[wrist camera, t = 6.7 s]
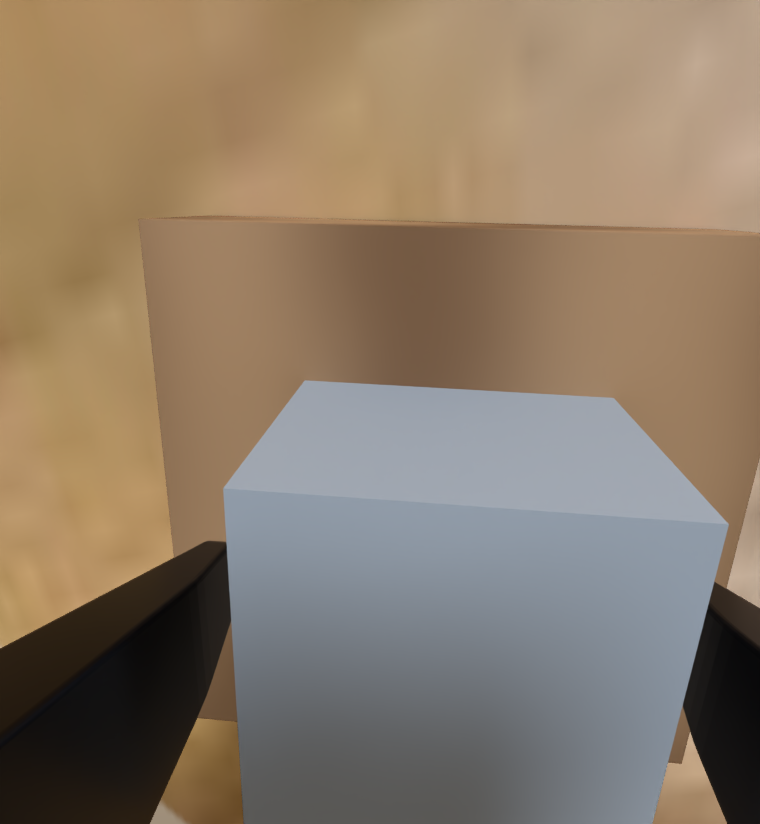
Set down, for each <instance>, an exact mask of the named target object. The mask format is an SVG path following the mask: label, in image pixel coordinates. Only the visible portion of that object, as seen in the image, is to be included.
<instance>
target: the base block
mask: <svg viewBox="0 0 760 824" xmlns="http://www.w3.org/2000/svg"><path fill="white" fill-rule="evenodd" d="M139 229H140V238H141V248H142V257H143V267H144V276H145V286H146V295H147V305H148V314H149V324H150V334H151V343H152V353H153V362H154V372H155V381H156V391H157V400H158V410H159V419H160V429H161V438H162V448H163V457H164V467H165V476H166V486H167V495H168V505H169V515H170V524H171V534H172V543H173V553H174V558H175V557H176V556H178V555H180V554H182V553H184V552H186V551H188V550H190V549H192V548H194V547H196V546H197V545H199V544H201V543H203V542H205V541H224V542H226V527H225V510H224V494H223V488H224V487H225V485H226V484H227V483H228V481H229V480H230V479H231V477H232V476H233V475H234V473H235V472H236V471H237V469H238V468H239V467H240V465H241V464H242V463H243V461H244V460H245V459H246V457H247V456H248V455H249V453H250V452H251V451H252V449H253V448H254V447H255V446H256V444H257V443H258V442H259V440H260V439H261V438H262V436H263V435H264V434H265V432H266V431H267V430H268V428H269V427H270V426H271V424H272V423H273V422H274V420H275V419H276V418H277V416H278V415H279V414H280V412H281V411H282V410H283V408H284V407H285V406H286V404H287V403H288V402H289V400H290V399H291V398H292V397H293V395H294V394H295V393H296V391H297V390H298V389H299V387H300V386H301V385H302V383H303V382H304V381H305V380H307V381H324V382H342V383H360V384H377V385H395V386H413V387H430V388H448V389H465V390H483V391H501V392H518V393H536V394H554V395H571V396H589V397H606V398H614V399H615V400H616V401H617V402H618V403H619V404H620V405H621V407H622V408H623V409H624V410H625V411H626V412H627V413H628V414H629V415H630V416H631V417H632V419H633V420H634V421H635V422H636V423H637V424H638V425H639V426H640V427H641V428H642V430H643V431H644V432H645V433H646V434H647V435H648V436H649V437H650V438H651V439H652V441H653V442H654V443H655V444H656V445H657V446H658V447H659V448H660V449H661V450H662V451H663V453H664V454H665V455H666V456H667V457H668V458H669V459H670V460H671V461H672V462H673V464H674V465H675V466H676V467H677V468H678V469H679V470H680V471H681V472H682V473H683V475H684V476H685V477H686V478H687V479H688V480H689V481H690V482H691V483H692V484H693V486H694V487H695V488H696V489H697V490H698V491H699V492H700V493H701V494H702V495H703V496H704V498H705V499H706V500H707V501H708V502H709V503H710V504H711V505H712V506H713V507H714V509H715V510H716V511H717V512H718V513H719V514H720V515H721V516H722V517H723V518H724V520H725V521H726V522H727V523H728V524H729V526H728V530H727V534H726V538H725V542H724V546H723V549H722V553H721V557H720V561H719V565H718V569H717V573H716V577H715V581H714V582H716V583H718V584H719V585H721V586H723V587H724V588H726V587H727V584H728V580H729V576H730V572H731V568H732V564H733V560H734V556H735V552H736V548H737V544H738V540H739V536H740V533H741V529H742V525H743V521H744V517H745V513H746V509H747V505H748V501H749V497H750V493H751V489H752V485H753V482H754V478H755V474H756V470H757V466H758V462H759V458H760V233H753V232H742V231H730V230H714V229H677V228H641V227H604V226H567V225H530V224H494V223H457V222H420V221H384V220H347V219H310V218H273V217H237V216H192V217H172V218H151V219H139ZM197 718H204V719H214V720H225V721H235V722H237V706H236V689H235V673H234V657H233V641H232V624H231V623H230V626H229V629H228V632H227V635H226V639H225V642H224V645H223V648H222V651H221V654H220V657H219V660H218V664H217V667H216V670H215V673H214V676H213V679H212V682H211V685H210V688H209V691H208V694H207V696H206V699H205V701H204V704H203V706H202V708H201V711H200V713H199V715H198V717H197ZM689 733H690V729H689V726H688V723H687V719H686V716H685V712H684V709H683V706H682V710H681V713H680V717H679V721H678V725H677V729H676V733H675V737H674V741H673V745H672V749H671V753H670V756H669V760H668V763H679V764H682V760H683V756H684V752H685V748H686V745H687V741H688V737H689Z"/></svg>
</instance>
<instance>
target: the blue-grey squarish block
mask: <svg viewBox="0 0 760 824" xmlns="http://www.w3.org/2000/svg"><path fill="white" fill-rule="evenodd" d="M223 494H224V510H225V527H226V543H227V559H228V575H229V592H230V608H231V624H232V641H233V657H234V673H235V689H236V706H237V722H238V738H239V755H240V771H241V787H242V803H243V820H244V824H652V823H653V819H654V815H655V811H656V807H657V803H658V799H659V795H660V792H661V788H662V784H663V780H664V776H665V772H666V768H667V764H668V760H669V756H670V753H671V749H672V745H673V741H674V737H675V733H676V729H677V725H678V721H679V717H680V713H681V710H682V706H683V702H684V698H685V694H686V690H687V686H688V682H689V678H690V674H691V671H692V667H693V663H694V659H695V655H696V651H697V647H698V643H699V639H700V635H701V631H702V628H703V624H704V620H705V616H706V612H707V608H708V604H709V600H710V596H711V592H712V589H713V585H714V581H715V577H716V573H717V569H718V565H719V561H720V557H721V553H722V549H723V546H724V542H725V538H726V534H727V530H728V526H729V524H728V523H727V522H726V521H725V520H724V518H723V517H722V516H721V515H720V514H719V513H718V512H717V511H716V510H715V509H714V507H713V506H712V505H711V504H710V503H709V502H708V501H707V500H706V499H705V498H704V496H703V495H702V494H701V493H700V492H699V491H698V490H697V489H696V488H695V487H694V486H693V484H692V483H691V482H690V481H689V480H688V479H687V478H686V477H685V476H684V475H683V473H682V472H681V471H680V470H679V469H678V468H677V467H676V466H675V465H674V464H673V462H672V461H671V460H670V459H669V458H668V457H667V456H666V455H665V454H664V453H663V451H662V450H661V449H660V448H659V447H658V446H657V445H656V444H655V443H654V442H653V441H652V439H651V438H650V437H649V436H648V435H647V434H646V433H645V432H644V431H643V430H642V428H641V427H640V426H639V425H638V424H637V423H636V422H635V421H634V420H633V419H632V417H631V416H630V415H629V414H628V413H627V412H626V411H625V410H624V409H623V408H622V407H621V405H620V404H619V403H618V402H617V401H616V400H615V399H614V398H606V397H589V396H571V395H554V394H536V393H518V392H501V391H483V390H465V389H448V388H430V387H413V386H395V385H377V384H360V383H342V382H324V381H307V380H305V381H304V382H303V383H302V385H301V386H300V387H299V389H298V390H297V391H296V393H295V394H294V395H293V397H292V398H291V399H290V400H289V402H288V403H287V404H286V406H285V407H284V408H283V410H282V411H281V412H280V414H279V415H278V416H277V418H276V419H275V420H274V422H273V423H272V424H271V426H270V427H269V428H268V430H267V431H266V432H265V434H264V435H263V436H262V438H261V439H260V440H259V442H258V443H257V444H256V446H255V447H254V448H253V449H252V451H251V452H250V453H249V455H248V456H247V457H246V459H245V460H244V461H243V463H242V464H241V465H240V467H239V468H238V469H237V471H236V472H235V473H234V475H233V476H232V477H231V479H230V480H229V481H228V483H227V484H226V485H225V487H224V488H223Z"/></svg>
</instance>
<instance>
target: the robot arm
mask: <svg viewBox="0 0 760 824" xmlns="http://www.w3.org/2000/svg"><path fill="white" fill-rule="evenodd" d="M230 623H231V608H230V592H229V575H228V559H227V543H226V542H224V541H205V542H203V543H201V544H199V545H197V546H196V547H194V548H192V549H190V550H188V551H186V552H184V553H182V554H180V555H178V556H176V557H175V558H173V559H171V560H169V561H167V562H165V563H163V564H161V565H159V566H157V567H155V568H153V569H152V570H150V571H148V572H146V573H144V574H142V575H140V576H138V577H136V578H134V579H132V580H130V581H129V582H127V583H125V584H123V585H121V586H119V587H117V588H115V589H113V590H111V591H109V592H108V593H106V594H104V595H102V596H100V597H98V598H96V599H94V600H92V601H90V602H88V603H86V604H85V605H83V606H81V607H79V608H77V609H75V610H73V611H71V612H69V613H67V614H65V615H63V616H62V617H60V618H58V619H56V620H54V621H52V622H50V623H48V624H46V625H44V626H42V627H41V628H39V629H37V630H35V631H33V632H31V633H29V634H27V635H25V636H23V637H21V638H19V639H18V640H16V641H14V642H12V643H10V644H8V645H6V646H4V647H2V648H0V824H150V822H151V820H152V817H153V815H154V813H155V811H156V809H157V806H158V804H159V802H160V800H161V797H162V795H163V793H164V791H165V789H166V786H167V784H168V782H169V780H170V777H171V775H172V773H173V771H174V769H175V766H176V764H177V762H178V760H179V757H180V755H181V753H182V751H183V749H184V746H185V744H186V742H187V740H188V737H189V735H190V733H191V731H192V729H193V726H194V724H195V722H196V720H197V717H198V715H199V713H200V711H201V708H202V706H203V704H204V701H205V699H206V696H207V694H208V691H209V688H210V685H211V682H212V679H213V676H214V673H215V670H216V667H217V664H218V660H219V657H220V654H221V651H222V648H223V645H224V642H225V639H226V635H227V632H228V629H229V626H230ZM683 709H684V712H685V716H686V719H687V723H688V726H689V729H690V732H691V735H692V738H693V741H694V744H695V746H696V749H697V751H698V754H699V757H700V759H701V762H702V764H703V766H704V769H705V771H706V774H707V776H708V778H709V781H710V783H711V786H712V788H713V791H714V793H715V795H716V798H717V800H718V803H719V805H720V807H721V810H722V812H723V815H724V817H725V819H726V822H727V824H760V608H758V607H757V606H755V605H753V604H752V603H750V602H748V601H747V600H745V599H743V598H741V597H740V596H738V595H736V594H735V593H733V592H731V591H730V590H728V589H726V588H724V587H723V586H721V585H719V584H718V583H716V582H714V585H713V589H712V592H711V596H710V600H709V604H708V608H707V612H706V616H705V620H704V624H703V628H702V631H701V635H700V639H699V643H698V647H697V651H696V655H695V659H694V663H693V667H692V671H691V674H690V678H689V682H688V686H687V690H686V694H685V698H684V702H683Z"/></svg>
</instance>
